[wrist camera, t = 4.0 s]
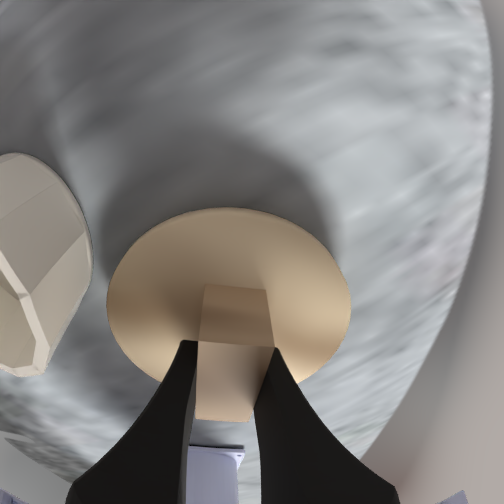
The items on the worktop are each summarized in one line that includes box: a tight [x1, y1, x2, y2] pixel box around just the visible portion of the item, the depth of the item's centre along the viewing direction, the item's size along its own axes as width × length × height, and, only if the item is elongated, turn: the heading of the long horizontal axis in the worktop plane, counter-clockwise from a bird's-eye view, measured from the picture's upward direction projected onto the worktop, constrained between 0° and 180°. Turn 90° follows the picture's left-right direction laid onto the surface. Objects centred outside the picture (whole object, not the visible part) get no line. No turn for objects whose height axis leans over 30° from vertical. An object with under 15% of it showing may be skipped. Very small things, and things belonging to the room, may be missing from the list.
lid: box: [106, 207, 351, 422], centre depth 11 cm, size 10×10×4 cm
